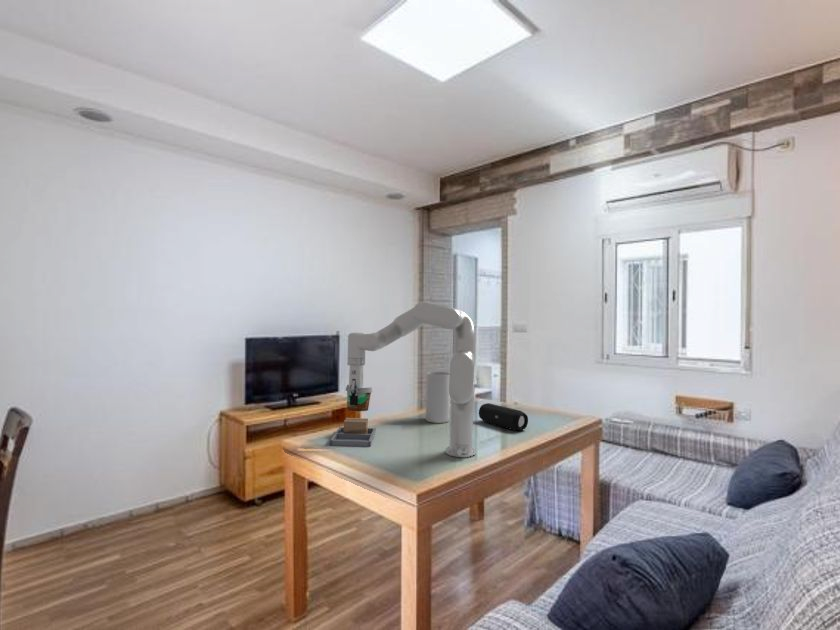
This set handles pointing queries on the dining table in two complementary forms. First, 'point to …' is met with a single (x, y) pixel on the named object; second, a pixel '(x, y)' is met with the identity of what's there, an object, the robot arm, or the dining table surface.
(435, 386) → the cylinder vase
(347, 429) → the tan rectangular block
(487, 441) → the dining table surface
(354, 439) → the tray
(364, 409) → the food container
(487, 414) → the portable speaker
